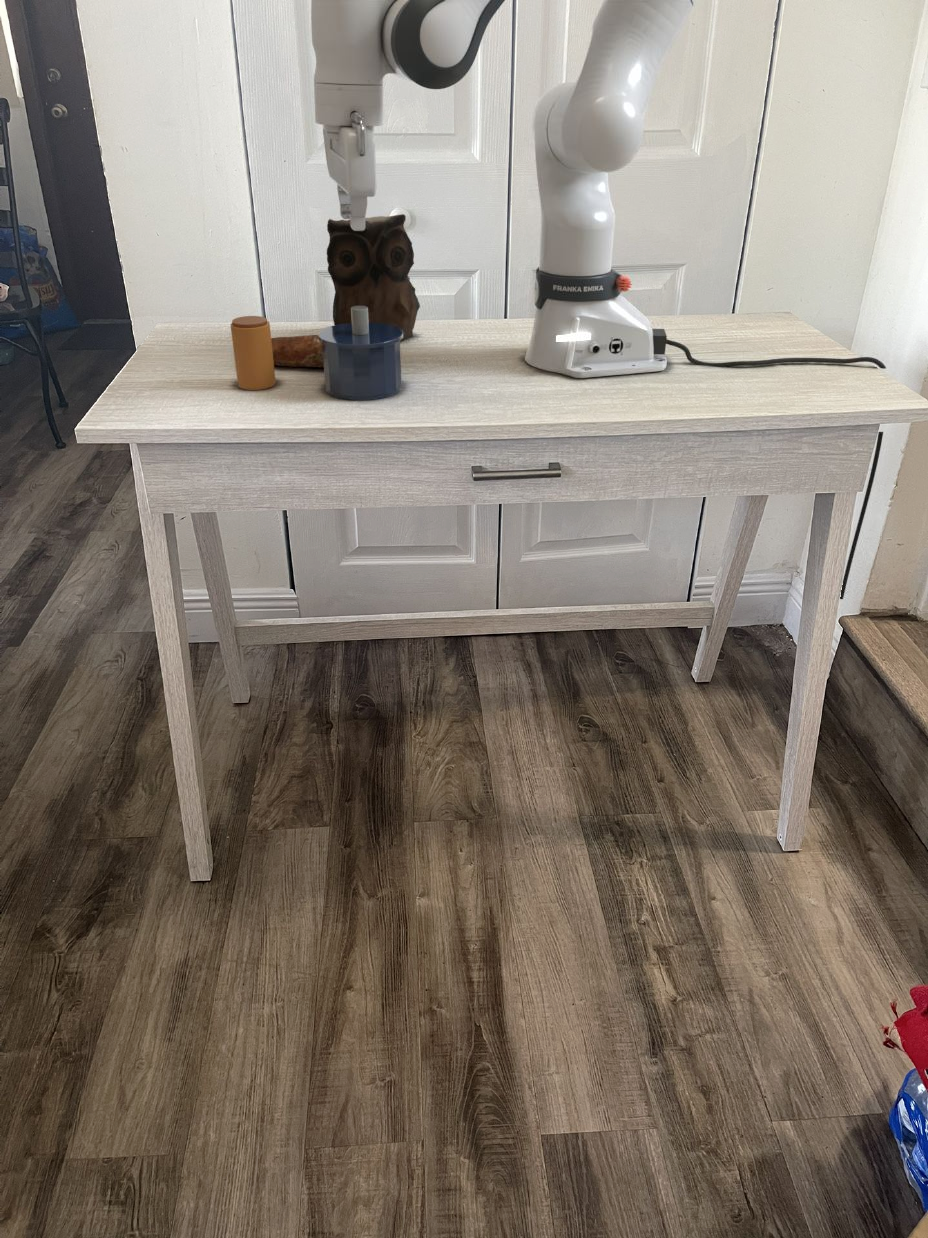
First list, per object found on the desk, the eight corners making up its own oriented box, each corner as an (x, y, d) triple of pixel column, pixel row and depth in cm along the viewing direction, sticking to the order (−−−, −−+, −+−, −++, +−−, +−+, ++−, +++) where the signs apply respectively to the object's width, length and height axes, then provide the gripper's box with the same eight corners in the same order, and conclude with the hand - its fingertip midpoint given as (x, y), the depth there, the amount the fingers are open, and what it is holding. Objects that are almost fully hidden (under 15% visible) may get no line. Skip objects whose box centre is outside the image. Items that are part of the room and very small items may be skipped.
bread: (361, 374, 146) (359, 338, 143) (244, 368, 149) (239, 332, 146) (371, 362, 151) (369, 327, 148) (258, 356, 154) (254, 321, 151)
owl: (423, 335, 165) (420, 212, 154) (380, 353, 156) (375, 223, 145) (364, 325, 170) (358, 206, 160) (320, 342, 161) (310, 216, 151)
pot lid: (402, 329, 142) (401, 296, 140) (404, 352, 132) (403, 317, 130) (320, 330, 142) (318, 297, 139) (316, 354, 131) (314, 319, 129)
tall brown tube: (277, 378, 144) (270, 314, 139) (274, 389, 140) (267, 324, 135) (240, 378, 144) (232, 315, 139) (235, 390, 139) (227, 325, 134)
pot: (400, 375, 146) (398, 326, 142) (402, 399, 136) (400, 347, 132) (327, 377, 145) (323, 327, 141) (324, 401, 135) (320, 348, 131)
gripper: (388, 115, 114) (389, 237, 121) (361, 104, 131) (363, 212, 138) (335, 114, 112) (340, 237, 120) (315, 103, 129) (320, 212, 136)
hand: (352, 223), depth 129 cm, fingers open, 8 cm apart
